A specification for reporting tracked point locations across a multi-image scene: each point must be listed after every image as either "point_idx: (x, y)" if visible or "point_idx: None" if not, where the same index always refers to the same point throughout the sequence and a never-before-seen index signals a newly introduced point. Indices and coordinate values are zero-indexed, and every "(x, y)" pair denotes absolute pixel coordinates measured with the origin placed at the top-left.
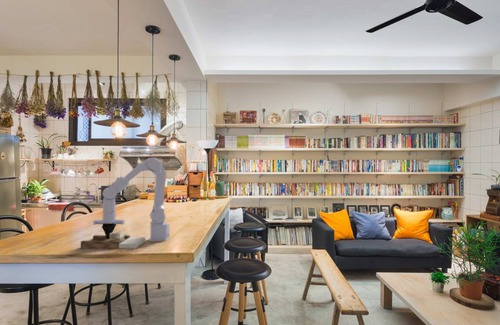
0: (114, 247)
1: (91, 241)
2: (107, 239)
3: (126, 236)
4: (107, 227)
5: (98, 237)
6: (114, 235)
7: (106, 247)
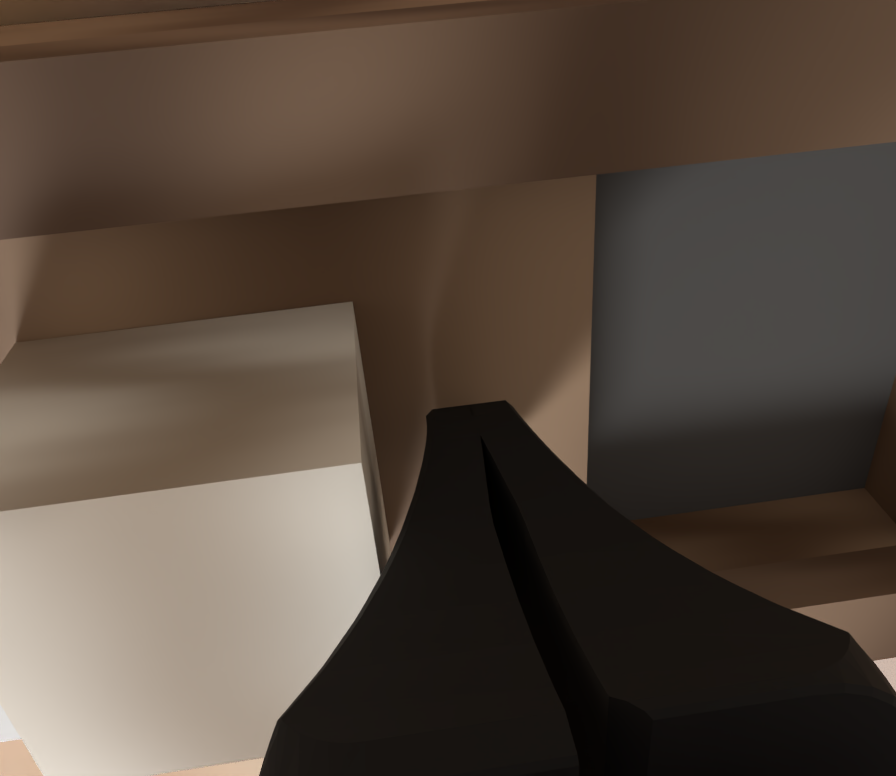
0: (12, 30)
1: (881, 8)
2: None
3: None
4: (514, 679)
5: (842, 572)
6: (160, 443)
7: (284, 4)
